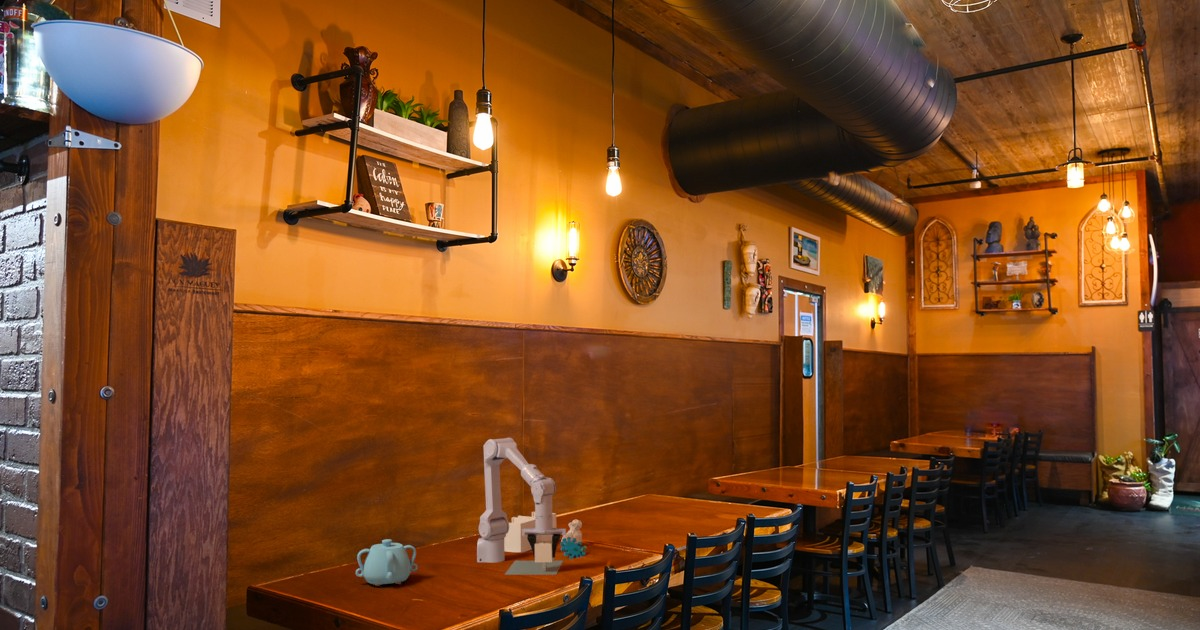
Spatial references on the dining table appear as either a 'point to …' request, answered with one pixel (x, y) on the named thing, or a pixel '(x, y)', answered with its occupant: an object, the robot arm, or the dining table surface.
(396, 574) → the decorative pot
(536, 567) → the base plate
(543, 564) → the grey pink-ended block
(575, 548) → the gear
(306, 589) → the dining table surface
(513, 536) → the storage container
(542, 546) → the cabinet with handle
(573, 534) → the bust
